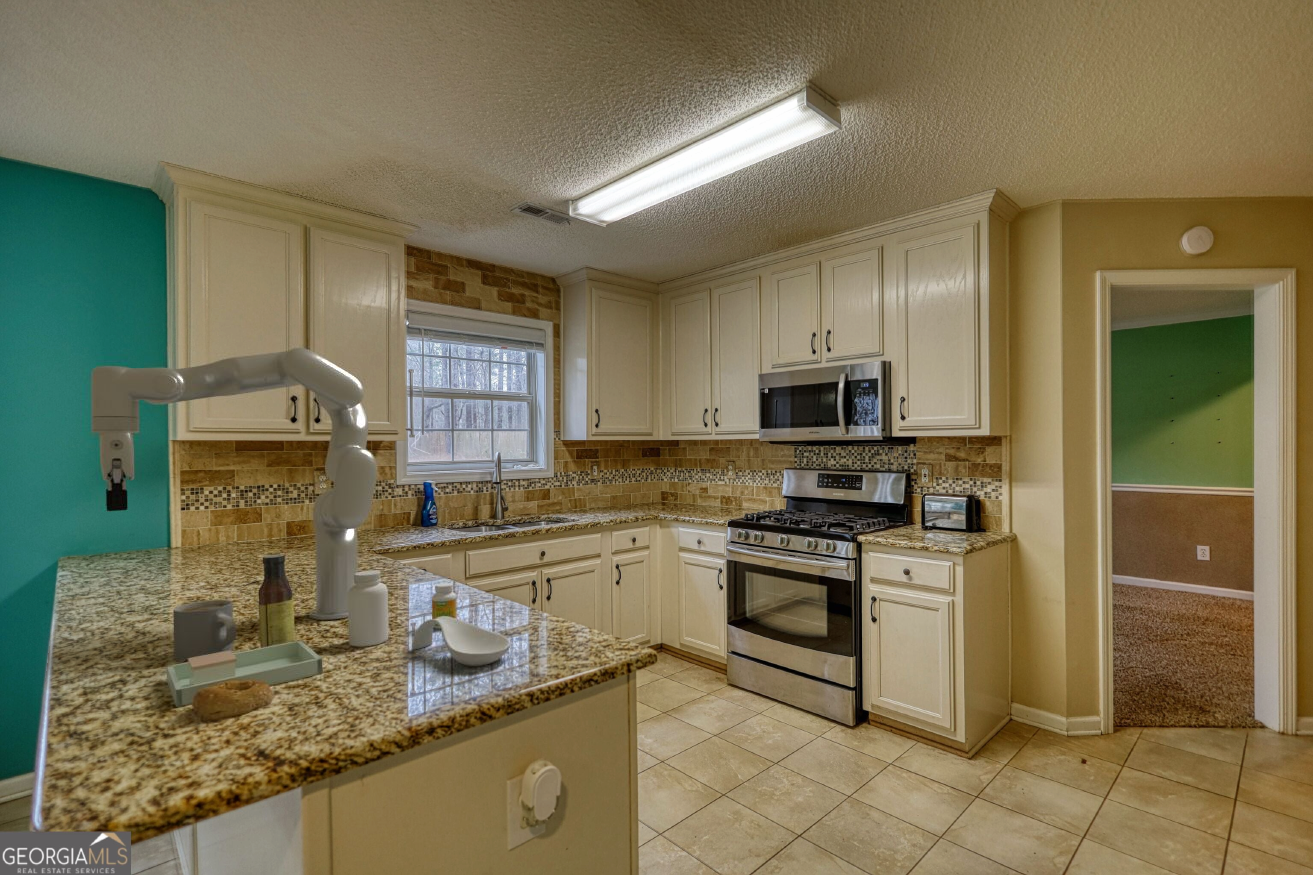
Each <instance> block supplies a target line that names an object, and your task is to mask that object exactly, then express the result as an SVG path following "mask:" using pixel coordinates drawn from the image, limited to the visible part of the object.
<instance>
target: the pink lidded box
mask: <svg viewBox="0 0 1313 875" xmlns="http://www.w3.org/2000/svg"><path fill="white" fill-rule="evenodd" d="M233 653H234V652H233V650H232V651H231V650H229V651H223V652H218V653H213V654H208V655H202V656H197V657H192V658H188V660H187V662H188V663H189V684H190V686H191V685H196V684H200V683H205V682H210V681H214V680H219V679H224V678H228V677H233V676H235V662H237V658H236V657H235V655H234V654H233Z"/></svg>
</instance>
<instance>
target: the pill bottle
mask: <svg viewBox="0 0 1313 875" xmlns="http://www.w3.org/2000/svg"><path fill="white" fill-rule="evenodd" d="M381 577H382V576H381V571H380V570H377V569H376V570H364V571H358V573H355V574H354V581H355V582H354V583H355V584H356V585H355V586H353V587H351V588H350V589H349V591H348V617H347V618H348V619H347V623H348V624H347V626H348V629H347V630H348V632H347V633H348V644H349V645H350V646H352V647H360V648H361V647H362V648H364V647H371V646H376V645H379V644H382V643H385V642H387V640H388V638H389V597H388V596H389V594H388V592H389V589H388V587H387V585H386V584H385V583H383V582H381V581H382V579H381Z"/></svg>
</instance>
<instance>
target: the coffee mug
mask: <svg viewBox="0 0 1313 875" xmlns="http://www.w3.org/2000/svg"><path fill="white" fill-rule="evenodd" d="M233 605H234V604H233V601H232V600H230V599H229V600H228V599H211V600H201V601H194V602H190V603H186V604H182V605H179V606H176V607H174V609H173V661H175V662H183V661H188V658H192V657H197V656H202V655H208V654H213V653H218V652H223V651H229V650H231V651H232V652H233V650H234V641H235V640H236V637H237V625H236V622H235V619H234V614H233V612H234V611H233V610H234V609H233V608H234V607H233Z"/></svg>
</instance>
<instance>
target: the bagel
mask: <svg viewBox="0 0 1313 875" xmlns="http://www.w3.org/2000/svg"><path fill="white" fill-rule="evenodd" d="M273 696H274V694H273V690H272V688H271V686H269V685H268V684H266V683H264V682H261V681H258V680H256V681H250V680H246V681H237V680H232V681H227V682H221V683H217V684H215V685H212V686H209V687H206V688H203V689H201V690H199V691H198V692H197V693H196V694H195V696H194V698H193V702H192V704H191V706H192V709H193V712H195V713H196V715H197V717H199V718H201V719H202V718H203V719H208V720H217V719H218V720H219V719H226V718H231V717H237V716H241V715H246V714H248V713H249V714H250V713H251V712H253V711H254V710H259V709H262V708H264V707H266V706H269V705H270V704H272V702H273V699H274V697H273Z"/></svg>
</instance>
